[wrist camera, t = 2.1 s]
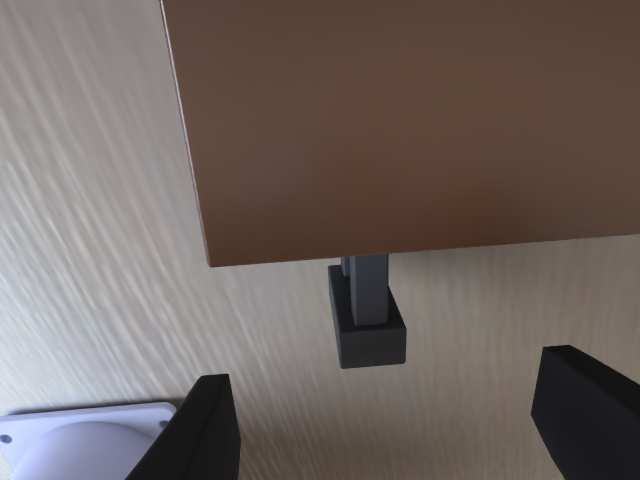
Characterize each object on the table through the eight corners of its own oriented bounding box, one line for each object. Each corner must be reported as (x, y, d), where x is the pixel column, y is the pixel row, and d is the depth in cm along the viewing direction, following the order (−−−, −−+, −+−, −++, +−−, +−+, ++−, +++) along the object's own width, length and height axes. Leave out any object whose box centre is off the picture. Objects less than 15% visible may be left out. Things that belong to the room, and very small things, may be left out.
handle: (471, 272, 16) (551, 367, 11) (288, 287, 16) (285, 390, 11) (484, 139, 14) (588, 183, 9) (274, 154, 14) (263, 207, 9)
